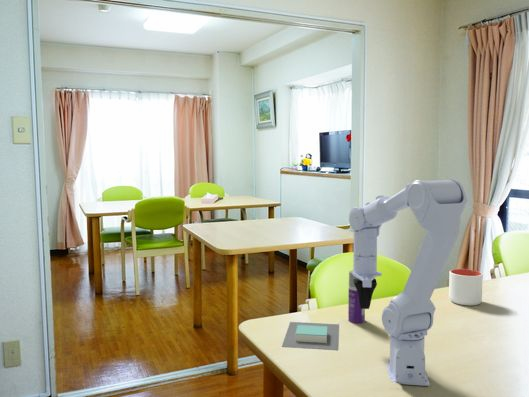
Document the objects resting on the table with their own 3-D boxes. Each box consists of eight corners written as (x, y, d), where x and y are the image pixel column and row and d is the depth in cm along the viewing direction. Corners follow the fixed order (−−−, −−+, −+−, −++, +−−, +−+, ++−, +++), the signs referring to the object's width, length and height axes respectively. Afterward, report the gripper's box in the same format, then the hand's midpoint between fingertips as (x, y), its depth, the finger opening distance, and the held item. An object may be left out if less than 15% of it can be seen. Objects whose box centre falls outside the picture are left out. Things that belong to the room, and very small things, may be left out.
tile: (326, 335, 116) (327, 326, 122) (295, 333, 118) (297, 324, 124) (326, 342, 116) (327, 333, 123) (295, 341, 118) (297, 332, 124)
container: (346, 323, 132) (346, 272, 130) (351, 318, 136) (351, 269, 135) (362, 326, 129) (362, 274, 128) (366, 321, 134) (367, 271, 132)
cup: (442, 300, 153) (442, 270, 153) (463, 296, 158) (464, 267, 157) (466, 308, 144) (467, 277, 144) (488, 304, 149) (489, 274, 148)
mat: (338, 352, 112) (338, 350, 112) (281, 349, 114) (281, 346, 114) (339, 326, 130) (339, 324, 129) (290, 323, 132) (290, 321, 132)
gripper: (384, 261, 106) (384, 318, 107) (378, 249, 120) (378, 299, 121) (354, 260, 107) (353, 317, 108) (351, 249, 121) (351, 299, 122)
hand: (364, 308), depth 115 cm, fingers closed
